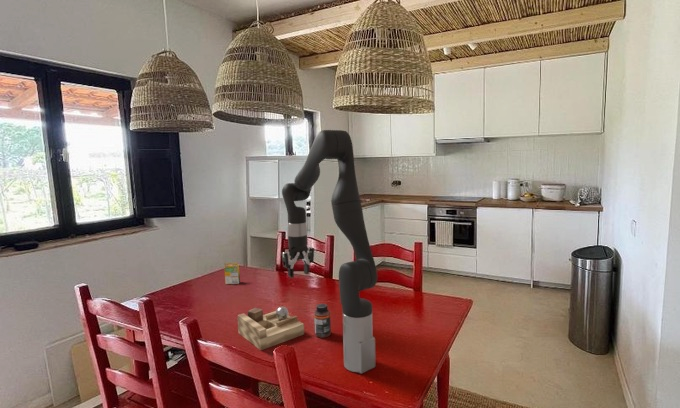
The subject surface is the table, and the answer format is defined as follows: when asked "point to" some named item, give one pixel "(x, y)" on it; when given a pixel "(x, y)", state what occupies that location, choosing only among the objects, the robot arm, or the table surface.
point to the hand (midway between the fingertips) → (299, 275)
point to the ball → (281, 313)
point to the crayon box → (232, 273)
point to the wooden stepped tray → (269, 330)
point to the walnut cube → (256, 314)
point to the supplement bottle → (322, 321)
